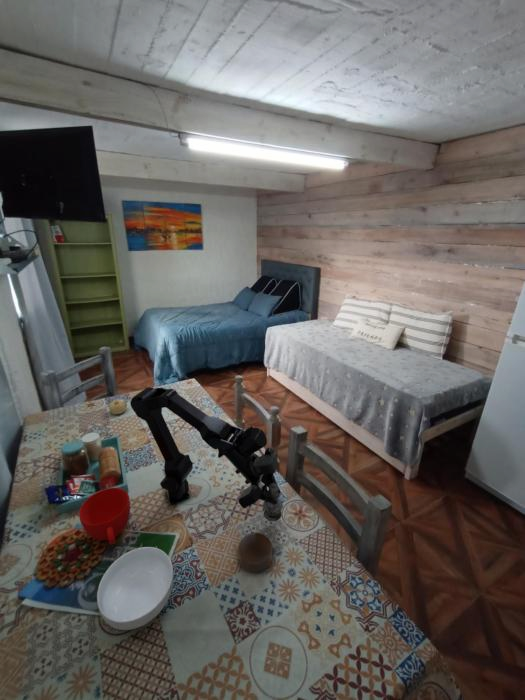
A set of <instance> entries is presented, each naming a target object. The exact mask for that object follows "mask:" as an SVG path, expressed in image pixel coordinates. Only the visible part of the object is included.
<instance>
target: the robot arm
mask: <svg viewBox="0 0 525 700" xmlns="http://www.w3.org/2000/svg"><path fill="white" fill-rule="evenodd" d="M129 404H130V407H131V409H132V410H133V412H134V413H135V415H136V416H137V417H138V418H139V419H141V420H142V421H144V422H145V423H146V424H147V427H148V428H149V431H150V433H151V435H152V438H154V441H155V443H156V445H157V447H158V449H159V452H160V454H161V455H162V457H163V459H164V468H163V469H164V470H163V472H164V474H165V475H164V477H163V479H162V480H161V481H160V483H159V485H160V487H161V489H162V490H165V492H164V494H165V496H166V498H167V500H168V503H169V505H170V506H171V507H172V506H174V505H176V504H179V503H181V502H183V501H185V500H187V499H189V498H191V497H190V493H189V492H190V485H189V481H188V480H187V479H188V476H189V475H190V474H191V473H192V471H193V469H194V467H193V465H194V462H193V461H192V459H191V457H190V455H189V454H184V453H182V452H181V451H180V450H179V448H178V446H177V444H176V442H175V439H174V437H173V435H172V432H171V430H170V428H169V426H168V424H167V422H166V420H165V418H164V416H163V409H164V408H166V409H167V410H169V411H170V412H171V413H173V414H174V415H176V416H177V417H178V418H180V419H181V420H183V421H184V422H185V423H187V424H188V425H190V426H191V427H193V428H194V429H195V430H196V431H198V433H199V435H200V438H201V440H203V441H204V442H205V444H207V446H209V447H210V448H211V449H213V450H217V451H218V452H217V458H218V459H220V458H222V457H223V456H224V457H225V458H226V459H227V460H228V461H229V462H230V464H231V465H232V466H233V467H234V468H235V471H234V472H235V474H236V475H238V474H240V475H242V476H243V478H244V479H245V480H244V483H245V484H246V485H249V484H250V485H249V486H248V487H246V488H244V489H242V491H241V494H240V495H239V498H238V504H239V505H240V506H241V508H243V509H246V508H248V507H250V506H252V505H254V504H256V503H258V502H259V501H263V502H264V501H266V502H269V503H272V504H274V505H275V504H277V501H276V500H275V498H274V497H273V496H272V495H271V493H270V492H269V485H270V484H273V483H275V484H277V485H278V482H277V480H276V478H275V476H274V475H275V473H276V472H277V468H278V466H279V464H280V463H279V461H278V459H277V458H278V453H276V451H275V450H274V449H273V448H272V447H266V446H267V444H268V438H267V435H266V433H265V432H264V431H263V429H260V428H259V427H253V425H250V424H249V426H247V427H246V428H245V429H244V428H242V427H239V426H236V425H233V424H230V423H229V422H227V421H225V420H224V419H222V418H220V417H215V416H210V415H209V414H207V413H205V412H204V411H202V410H201V409H199V407H197V406H195V404H193V403H191V402H189V401H188V400H187V399H186V398H184V397H183V396H181V395H180V394H179V393H178V391H177V390H176V389H174V388H165V387H154V388H153V387H151V386H148V387H146V388H144V389H143V390H141V391H139V392H138V393H136V394H135V395H134V396H132V398H131V400H130V402H129ZM263 448H265V450H264V453H262V455H260V456H259V455H258V454H257V452H258V451H260V450H261V449H263ZM278 493H279V495H281V493H282V492H281V490H280V488H279V491H278Z"/></svg>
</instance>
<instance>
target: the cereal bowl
mask: <svg viewBox="0 0 525 700" xmlns="http://www.w3.org/2000/svg"><path fill="white" fill-rule="evenodd" d="M174 577H175V576H174V567H173V563H172V561H171V559H170V556H169V555H168V554H167V553H166V552H165V551H163V549H160V548H157V547H153V546H143V547H138V548H134V549H131V550H129V551H127V552H125V553H123V554H122V555H120V557H118V558H117V559H116V560H114V562H112V563H111V565H110V566H108V568H107V570H106V571H105V573H104V574H103V576H102V577H101V579H100V582H99V585H98V588H97V593H96V603H97V609H98V612H99V614H100V616H101V618H102V619H103V621H104V622H105V624H107V625H108V626H110V628H111V627H112V629H113V628H114V629H115V630H120V631H131V630H135V629H138V628H140V627H143V626H145V625H147V624H148V623H150V622H151V621H153V620H154V619H155V618H156V617H157V616H158V615H159V614H160V612H162V611H163V609H164V608H165V606H166V605H167V603H168V601H169V599H170V597H171V594H172V591H173V587H174V580H175V579H174Z"/></svg>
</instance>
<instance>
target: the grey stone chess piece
mask: <svg viewBox="0 0 525 700" xmlns="http://www.w3.org/2000/svg"><path fill="white" fill-rule="evenodd" d="M279 489H280V487H279V485H278V483H277V484H275V483H273V484H270V485H269V488H268V491H269V492H270V493H271V495H272V496H273V497H274V498H275V500H276V501H277V504H275V505H274V504H272V503H269V502H266V501H263V503H262V507H263V509H264V512H263V516H264V518H265V519H266V520H267V521H269V522H278V521H279V520H280V519H281V518H282V510H283V509H284V503H283V501H282V500H281V499H280V495H281V494H279V493H278V491H279Z"/></svg>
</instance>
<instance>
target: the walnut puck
mask: <svg viewBox="0 0 525 700" xmlns="http://www.w3.org/2000/svg"><path fill="white" fill-rule="evenodd" d="M272 559H273V544H272V542H271V540H270V538H269V537H268V536H267V535H265V534H263V533H261V532H250V533H248V534H246V535H245V536H243V537H242V539H241V540H240V542H239V544H238V561H239V564H240V566H241V567H242V569H244V570H245V571H246V572H248V573H251V574H260V573H262V572H264V571H266V570H267V569H268V568H269V566H270V565H271V563H272V561H273V560H272Z"/></svg>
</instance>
